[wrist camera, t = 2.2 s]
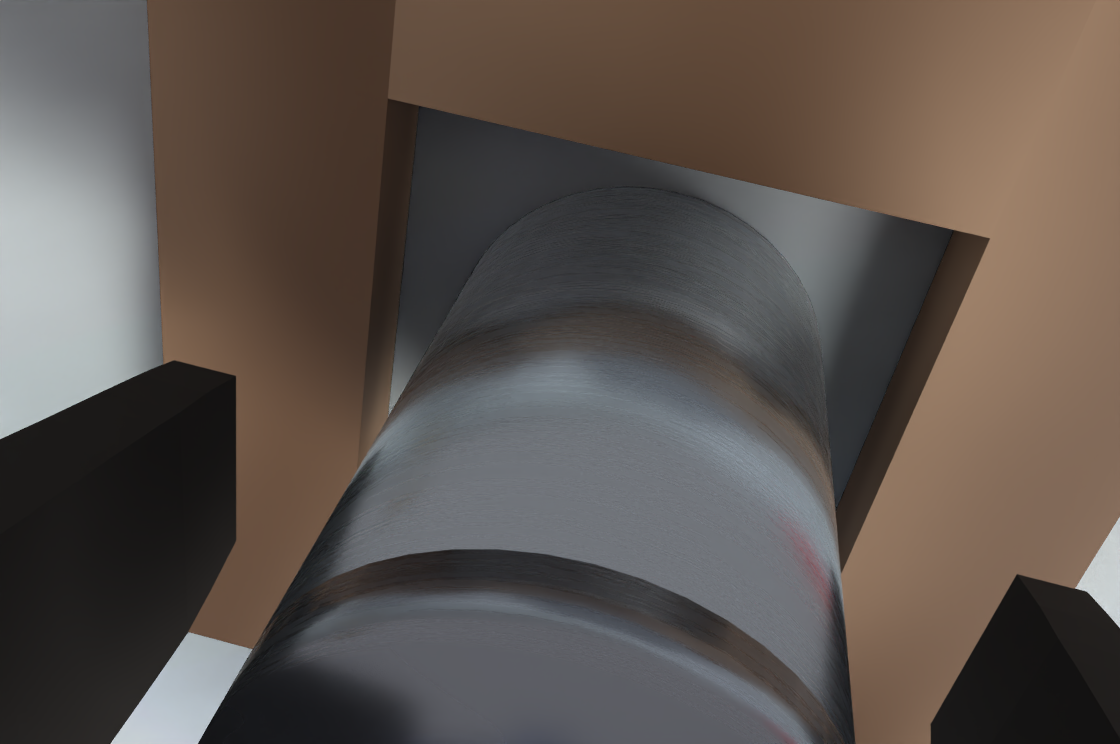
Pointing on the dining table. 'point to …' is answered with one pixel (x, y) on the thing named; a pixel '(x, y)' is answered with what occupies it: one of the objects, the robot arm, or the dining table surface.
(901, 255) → the dining table surface
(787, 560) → the grey metal cylinder
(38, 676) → the robot arm
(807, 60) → the collar
